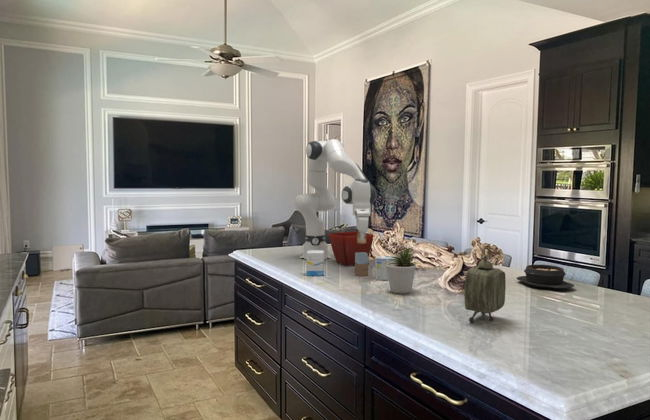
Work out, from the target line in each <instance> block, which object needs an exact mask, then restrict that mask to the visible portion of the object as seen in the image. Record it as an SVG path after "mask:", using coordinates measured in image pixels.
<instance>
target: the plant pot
mask: <svg viewBox="0 0 650 420" xmlns="http://www.w3.org/2000/svg"><path fill="white" fill-rule="evenodd" d="M357 233H359V231H343V232H331V233H330V232H329V234H328V235H329V240H330V241H329V242H330V246H331V249H332V253H333V256H334V259H335V262H336V263H337V262H338V263H337V264H340V263H341V264H340V265H342V266H346V267H347V266H349V265H350V266H355V253H357V252H365V253H367V254H368V258H369V256H370V253H371V249H372V248H373V247H372V246H373V240H374V234H373V233H367V232H365V233H366V243H364V244H360V243H357Z"/></svg>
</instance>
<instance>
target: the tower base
mask: <svg viewBox="0 0 650 420" xmlns="http://www.w3.org/2000/svg"><path fill="white" fill-rule="evenodd" d="M354 274H356V275H355V277H368V276H369V263H368V264H357V263H355V265H354Z"/></svg>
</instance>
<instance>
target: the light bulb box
mask: <svg viewBox="0 0 650 420" xmlns="http://www.w3.org/2000/svg"><path fill="white" fill-rule="evenodd" d="M392 257H398V255H397V256H396V255H376V256H375V259H374V260H375V263H374V264H375V271H374V272H375V281H389V278H388V272H387V268H386V264H387V263H391V262H394V261H395V260H394V261H391V260H389V259H395V258H392ZM396 262H397V261H396Z"/></svg>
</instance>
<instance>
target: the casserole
mask: <svg viewBox="0 0 650 420" xmlns="http://www.w3.org/2000/svg"><path fill="white" fill-rule="evenodd" d="M523 272H524V273H525V275H521V276H517V277H516V279H517V280H518V281H521V282H523V283H524V284H527V285H528V286H531V287H534V288H538V289H539V288H540V289H548V290H549V289H550V290H551V289H553V290H554V289H570V288H573V287H575V284H573V283H570V282H567V281H565V276H566V274H567V273H566V272H565V270H564V268H562V267H560V266H556V265H551V264H550V265H549V264H530V265H529V264H528V265H526V267H525V269H524V270H523Z"/></svg>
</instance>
